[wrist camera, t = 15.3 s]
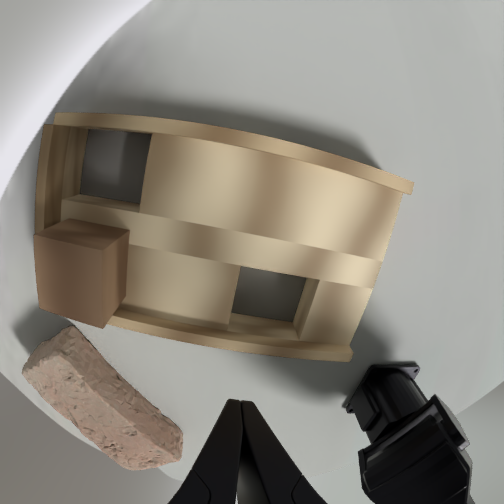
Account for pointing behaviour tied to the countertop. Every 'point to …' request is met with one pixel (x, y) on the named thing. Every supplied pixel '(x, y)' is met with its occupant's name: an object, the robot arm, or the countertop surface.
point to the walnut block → (81, 270)
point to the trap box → (231, 230)
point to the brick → (102, 402)
